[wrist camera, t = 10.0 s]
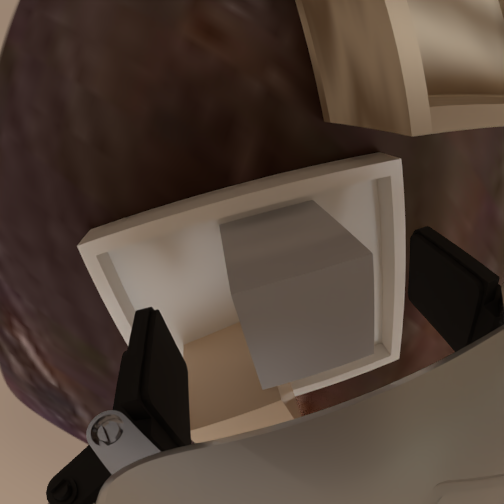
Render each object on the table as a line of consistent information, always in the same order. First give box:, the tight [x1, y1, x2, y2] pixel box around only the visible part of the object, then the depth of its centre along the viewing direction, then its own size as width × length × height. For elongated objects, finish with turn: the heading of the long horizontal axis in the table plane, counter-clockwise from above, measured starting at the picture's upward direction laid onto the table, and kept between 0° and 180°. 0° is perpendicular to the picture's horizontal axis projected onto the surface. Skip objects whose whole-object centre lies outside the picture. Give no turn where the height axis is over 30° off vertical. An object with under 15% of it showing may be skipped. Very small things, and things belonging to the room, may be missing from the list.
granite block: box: [219, 200, 374, 390], centre depth 13 cm, size 4×4×6 cm
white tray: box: [77, 152, 406, 396], centre depth 17 cm, size 13×15×2 cm
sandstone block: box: [183, 322, 302, 443], centre depth 16 cm, size 4×4×6 cm
